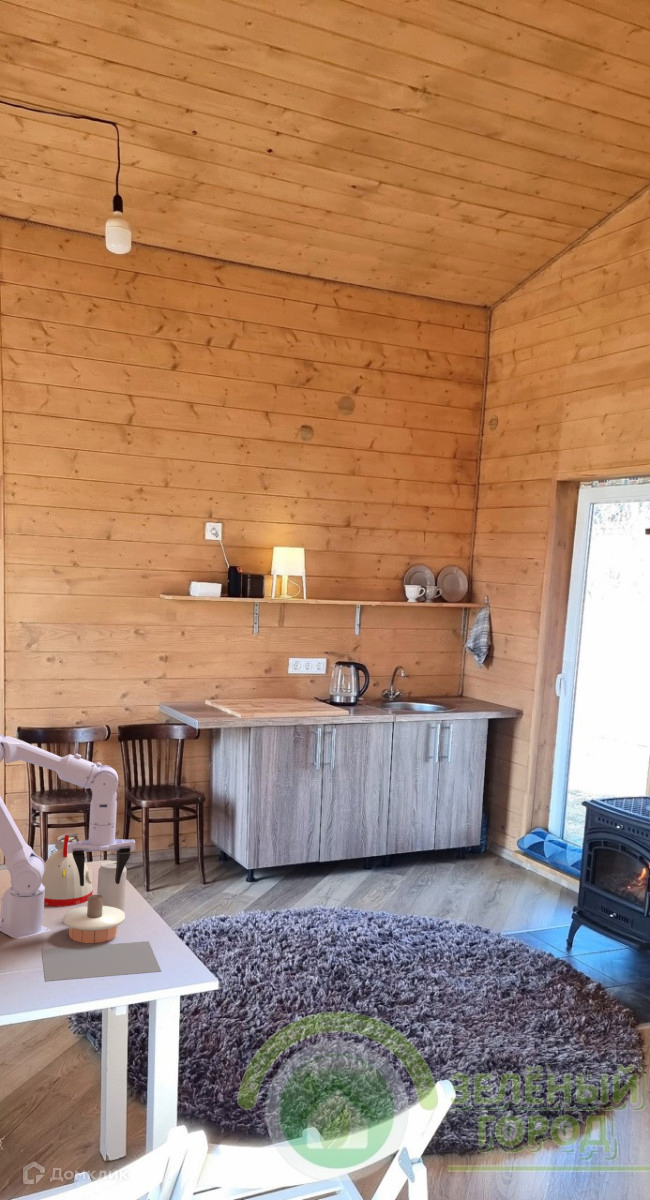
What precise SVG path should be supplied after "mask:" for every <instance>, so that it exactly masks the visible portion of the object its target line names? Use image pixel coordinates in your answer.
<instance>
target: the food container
mask: <svg viewBox="0 0 650 1200" xmlns="http://www.w3.org/2000/svg"><path fill="white" fill-rule="evenodd" d="M78 834H79V833H78V832H74V833H65V834H62V835H60V836H58V837H57V839H56V842H55V845H54V848H55V849H56V850H57V851H58V850H60V849H62V848H63V847H64V838H65V835H69V842H78V841H80V840H79V838H78V837H79V836H78Z"/></svg>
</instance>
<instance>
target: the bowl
mask: <svg viewBox="0 0 650 1200" xmlns="http://www.w3.org/2000/svg"><path fill="white" fill-rule="evenodd" d="M118 929H119V925H118V926H116V927H113V928H109V929H103V930H79V929H74V928H71V927H68V937H69V938H70V939H71V940H73V941H75V942H78V943H82V944H83V943H85V944H99V943H105V942H108V941H110V940H112V939H115V938H116V936H117V935H118V932H119V930H118Z"/></svg>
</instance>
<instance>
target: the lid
mask: <svg viewBox="0 0 650 1200" xmlns="http://www.w3.org/2000/svg"><path fill="white" fill-rule="evenodd" d="M125 919H126V913H125V911H124V912H123V911H122V910H120V909H118V908H115V907H110V906H103V896H101V895H97V894H92V895H91V896H89V897H88V901H87V906H84V905H83V906H79V907H75V908H73V909H70V910H68V911H66V912H65V913H64V914H63V917H62V921H63V924H64V925H65V926H67V927H68V928H69V927H71V928H74V929H79V930H103V929H109V928H113V927H116V926H118V927H119V926H120V925H121V924H123V923H124V922H125Z"/></svg>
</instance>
